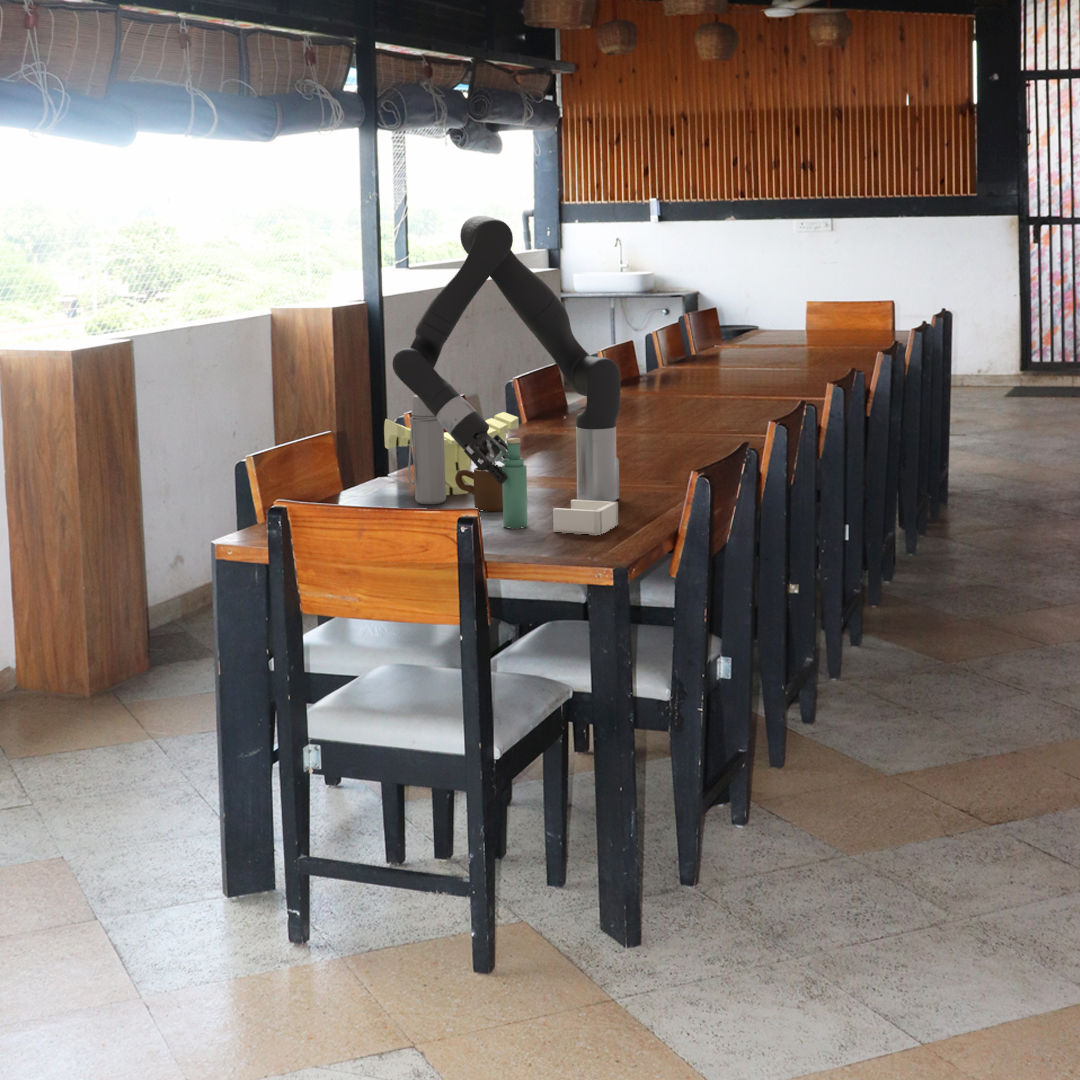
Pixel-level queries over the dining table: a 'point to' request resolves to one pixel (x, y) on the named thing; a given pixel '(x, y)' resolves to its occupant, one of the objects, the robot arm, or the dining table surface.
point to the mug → (482, 489)
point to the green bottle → (514, 487)
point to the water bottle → (427, 455)
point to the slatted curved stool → (451, 446)
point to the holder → (586, 517)
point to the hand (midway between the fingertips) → (513, 478)
